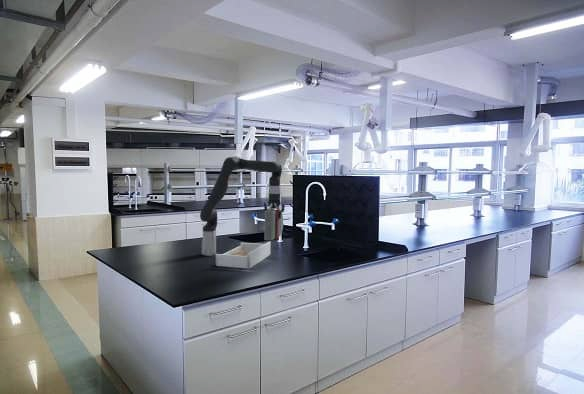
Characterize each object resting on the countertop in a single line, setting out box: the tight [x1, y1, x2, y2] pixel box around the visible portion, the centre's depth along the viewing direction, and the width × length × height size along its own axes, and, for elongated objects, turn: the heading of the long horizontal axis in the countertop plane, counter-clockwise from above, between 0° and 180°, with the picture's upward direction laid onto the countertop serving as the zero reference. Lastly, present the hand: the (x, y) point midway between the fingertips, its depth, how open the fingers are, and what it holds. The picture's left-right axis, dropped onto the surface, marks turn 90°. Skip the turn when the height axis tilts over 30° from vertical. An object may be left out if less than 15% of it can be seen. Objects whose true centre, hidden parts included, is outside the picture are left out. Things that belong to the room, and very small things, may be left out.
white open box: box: [215, 241, 272, 269], centre depth 246 cm, size 22×40×10 cm, turn 165°
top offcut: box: [230, 250, 250, 256], centre depth 248 cm, size 6×15×2 cm, turn 156°
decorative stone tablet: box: [263, 209, 284, 241], centre depth 239 cm, size 19×6×30 cm
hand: (274, 218), depth 239 cm, fingers closed on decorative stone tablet, 6 cm apart
